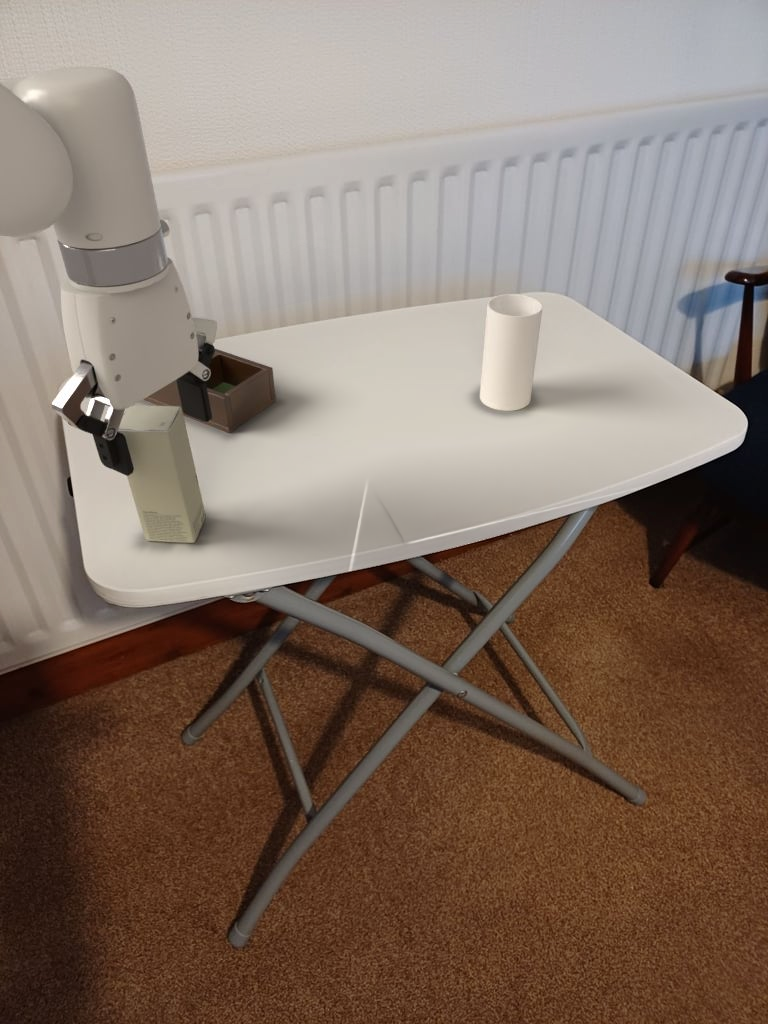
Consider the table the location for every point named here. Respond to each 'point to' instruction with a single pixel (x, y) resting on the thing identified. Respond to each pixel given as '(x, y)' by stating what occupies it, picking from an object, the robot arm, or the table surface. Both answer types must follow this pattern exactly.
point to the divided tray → (228, 391)
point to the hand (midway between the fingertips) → (160, 442)
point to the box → (163, 473)
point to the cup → (510, 351)
